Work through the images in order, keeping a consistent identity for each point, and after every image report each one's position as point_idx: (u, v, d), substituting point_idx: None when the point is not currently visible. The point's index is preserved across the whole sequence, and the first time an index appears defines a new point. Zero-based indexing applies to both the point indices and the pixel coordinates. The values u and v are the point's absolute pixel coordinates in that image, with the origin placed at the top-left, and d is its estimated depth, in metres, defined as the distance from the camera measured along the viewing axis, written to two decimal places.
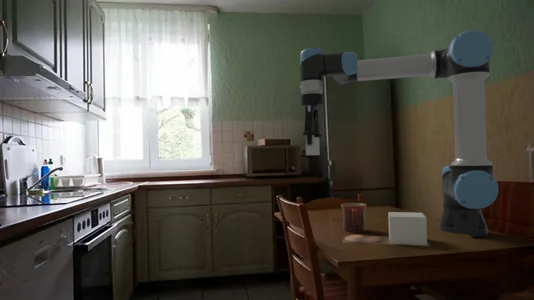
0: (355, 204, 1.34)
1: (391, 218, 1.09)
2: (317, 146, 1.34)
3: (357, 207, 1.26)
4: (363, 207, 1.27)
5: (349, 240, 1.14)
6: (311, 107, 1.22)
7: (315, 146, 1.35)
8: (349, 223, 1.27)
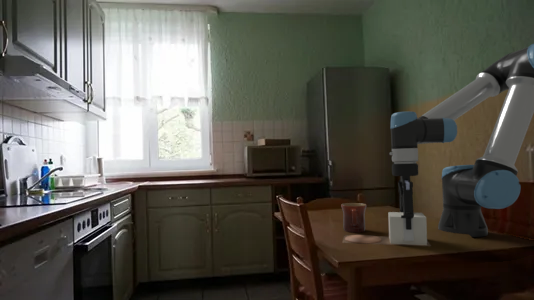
0: (355, 204, 1.34)
1: (391, 218, 1.09)
2: None
3: (357, 207, 1.26)
4: (363, 207, 1.27)
5: (349, 240, 1.14)
6: (410, 185, 1.06)
7: None
8: (349, 223, 1.27)
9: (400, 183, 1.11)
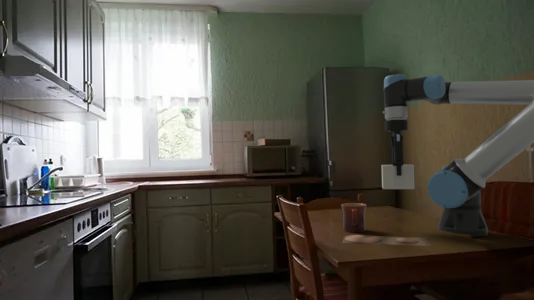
0: (355, 204, 1.34)
1: (383, 167, 1.26)
2: None
3: (357, 207, 1.26)
4: (363, 207, 1.27)
5: (349, 240, 1.14)
6: (400, 137, 1.22)
7: None
8: (349, 223, 1.27)
9: (392, 137, 1.28)
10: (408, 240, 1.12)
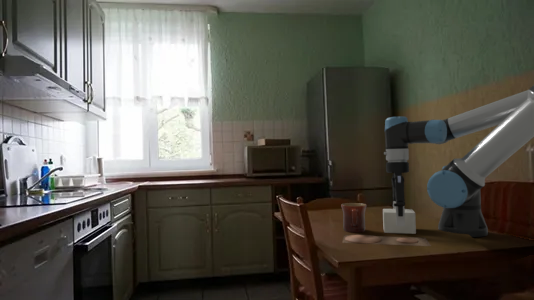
0: (355, 204, 1.34)
1: (385, 214, 1.26)
2: None
3: (357, 207, 1.26)
4: (363, 207, 1.27)
5: (349, 240, 1.14)
6: (401, 178, 1.22)
7: None
8: (349, 223, 1.27)
9: (393, 179, 1.28)
10: (408, 240, 1.12)
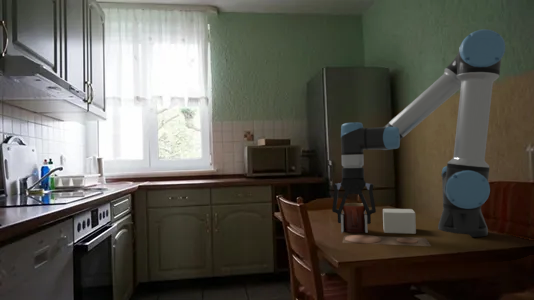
0: (355, 204, 1.34)
1: (385, 214, 1.26)
2: (365, 224, 1.27)
3: (357, 207, 1.26)
4: (363, 207, 1.27)
5: (349, 240, 1.14)
6: (333, 186, 1.30)
7: None
8: (349, 223, 1.27)
9: None
10: (408, 240, 1.12)
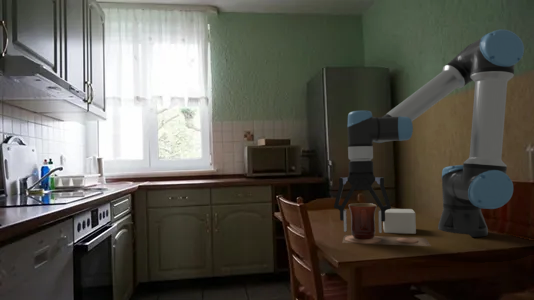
0: (364, 204, 1.21)
1: (385, 214, 1.26)
2: None
3: (367, 208, 1.13)
4: (373, 208, 1.14)
5: (349, 240, 1.14)
6: (339, 180, 1.17)
7: None
8: (358, 225, 1.15)
9: None
10: (408, 240, 1.12)
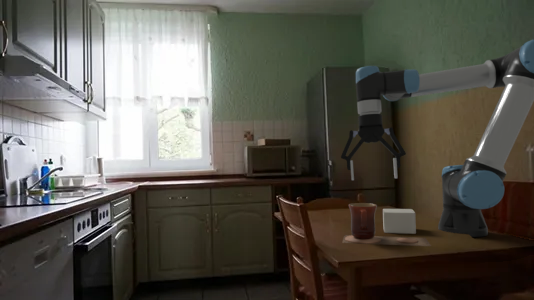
0: (364, 204, 1.21)
1: (385, 214, 1.26)
2: (394, 168, 1.19)
3: (367, 208, 1.13)
4: (373, 208, 1.14)
5: (349, 240, 1.14)
6: None
7: (394, 168, 1.19)
8: (358, 225, 1.15)
9: None
10: (408, 240, 1.12)
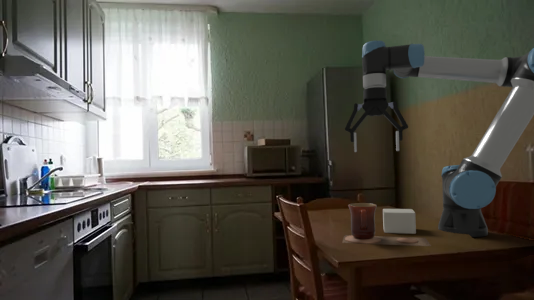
0: (364, 204, 1.21)
1: (385, 214, 1.26)
2: (396, 141, 1.22)
3: (366, 208, 1.13)
4: (373, 208, 1.14)
5: (349, 240, 1.14)
6: (354, 105, 1.26)
7: (396, 141, 1.23)
8: (357, 225, 1.15)
9: None
10: (408, 240, 1.12)
